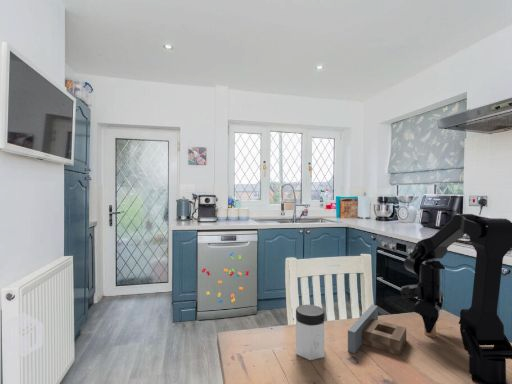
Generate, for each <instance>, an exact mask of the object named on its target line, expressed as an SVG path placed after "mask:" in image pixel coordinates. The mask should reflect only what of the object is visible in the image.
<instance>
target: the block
mask: <svg viewBox="0 0 512 384" xmlns="http://www.w3.org/2000/svg"><path fill="white" fill-rule="evenodd" d="M406 342H407V327H405V326H401V325H397V324H393V323H390V322H386V321H382V320H379V319H378V320H375V319H372V320H371V321H370V323H369V324H368V325H367V326H366V327H365V329H364V330H363V343H362V345H367V346H369V347H373V348H376V349H379V350H383V351H385V352H389V353H391V354H395V355H398V356H400V354H401V353H402V351H403V349H404V346H405V344H406Z"/></svg>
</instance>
